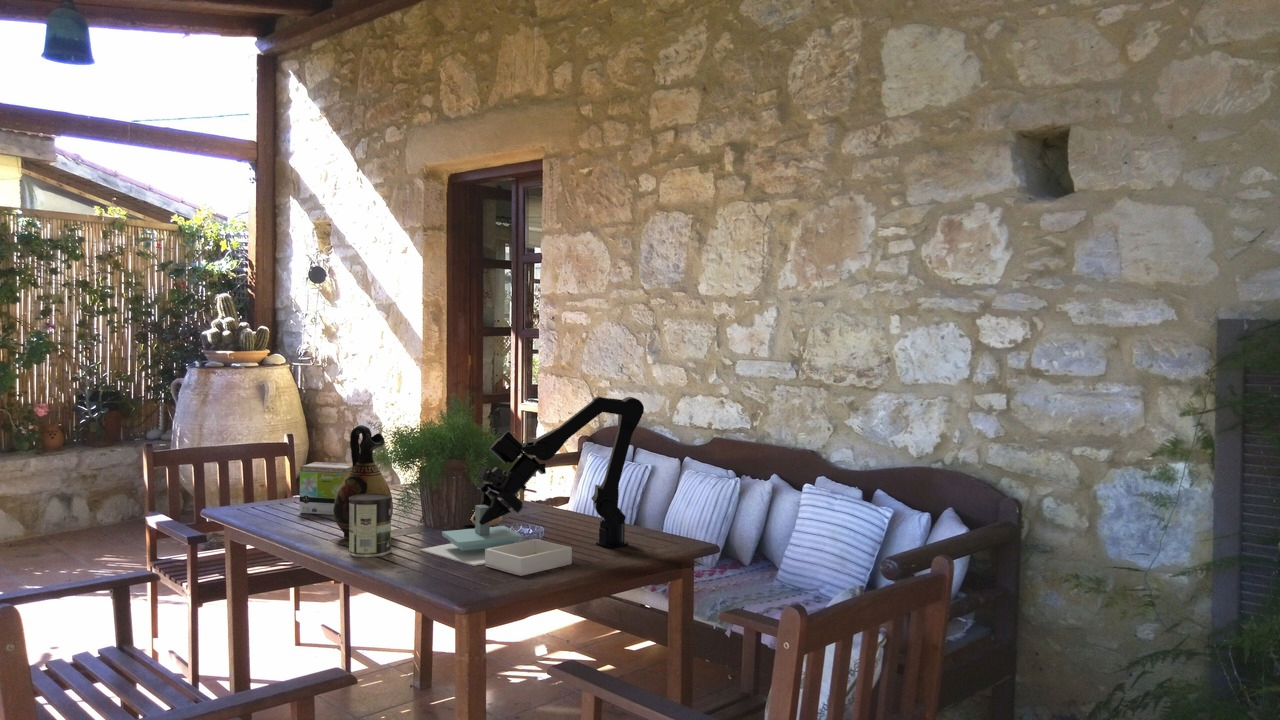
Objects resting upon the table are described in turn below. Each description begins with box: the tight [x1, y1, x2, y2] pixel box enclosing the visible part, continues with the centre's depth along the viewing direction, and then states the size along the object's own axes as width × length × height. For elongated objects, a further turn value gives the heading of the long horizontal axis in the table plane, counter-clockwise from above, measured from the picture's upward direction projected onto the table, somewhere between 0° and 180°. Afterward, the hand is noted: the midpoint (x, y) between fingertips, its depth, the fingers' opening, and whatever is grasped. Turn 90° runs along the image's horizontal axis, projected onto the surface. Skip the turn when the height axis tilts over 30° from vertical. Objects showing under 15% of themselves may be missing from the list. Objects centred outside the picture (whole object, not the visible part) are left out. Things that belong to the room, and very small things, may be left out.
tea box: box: [298, 461, 353, 516], centre depth 281 cm, size 15×10×15 cm, turn 83°
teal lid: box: [441, 504, 524, 551], centre depth 233 cm, size 17×14×10 cm
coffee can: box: [348, 494, 393, 558], centre depth 230 cm, size 10×10×14 cm
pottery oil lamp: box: [470, 512, 503, 527], centre depth 264 cm, size 9×12×7 cm
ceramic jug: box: [333, 424, 394, 541], centre depth 247 cm, size 17×15×30 cm
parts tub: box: [484, 538, 573, 577], centre depth 220 cm, size 16×13×4 cm
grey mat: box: [419, 542, 493, 567], centre depth 234 cm, size 22×22×1 cm
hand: (477, 522), depth 233 cm, fingers closed on teal lid, 4 cm apart
